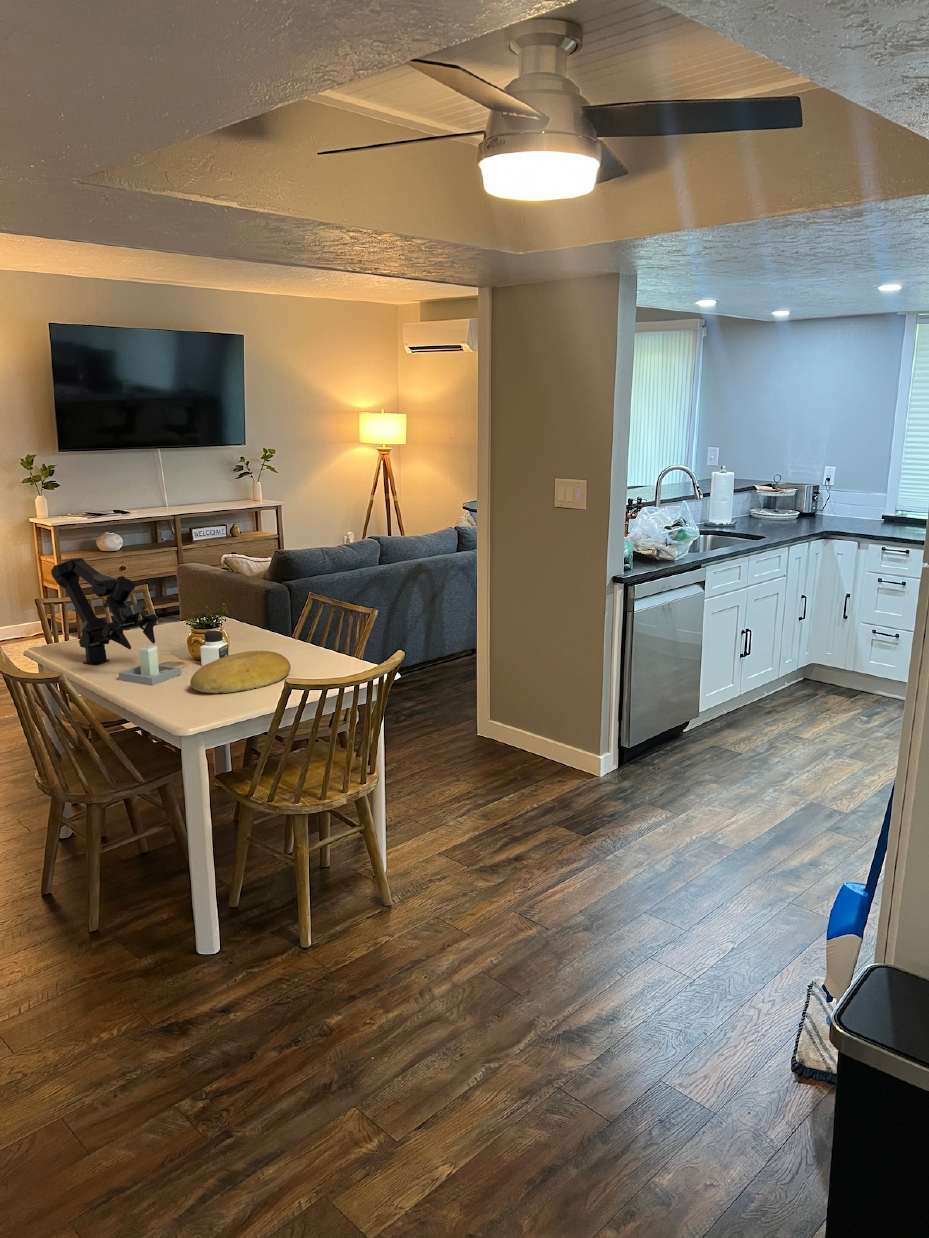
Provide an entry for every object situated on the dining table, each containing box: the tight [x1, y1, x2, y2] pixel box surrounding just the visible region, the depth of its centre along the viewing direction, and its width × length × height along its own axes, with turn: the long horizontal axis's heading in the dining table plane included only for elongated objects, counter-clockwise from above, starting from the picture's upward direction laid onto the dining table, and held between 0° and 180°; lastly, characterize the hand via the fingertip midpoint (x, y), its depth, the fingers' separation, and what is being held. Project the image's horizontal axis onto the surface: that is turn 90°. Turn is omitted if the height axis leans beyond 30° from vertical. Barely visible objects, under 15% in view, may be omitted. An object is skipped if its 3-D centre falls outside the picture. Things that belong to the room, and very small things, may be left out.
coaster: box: [159, 661, 187, 669], centre depth 319 cm, size 10×10×1 cm
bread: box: [190, 650, 291, 694], centre depth 299 cm, size 18×35×10 cm, turn 139°
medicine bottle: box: [200, 629, 230, 667], centre depth 321 cm, size 7×7×12 cm
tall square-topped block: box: [138, 644, 160, 676], centre depth 305 cm, size 4×4×10 cm
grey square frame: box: [118, 663, 182, 686], centre depth 306 cm, size 14×13×2 cm
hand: (142, 645), depth 306 cm, fingers open, 9 cm apart
